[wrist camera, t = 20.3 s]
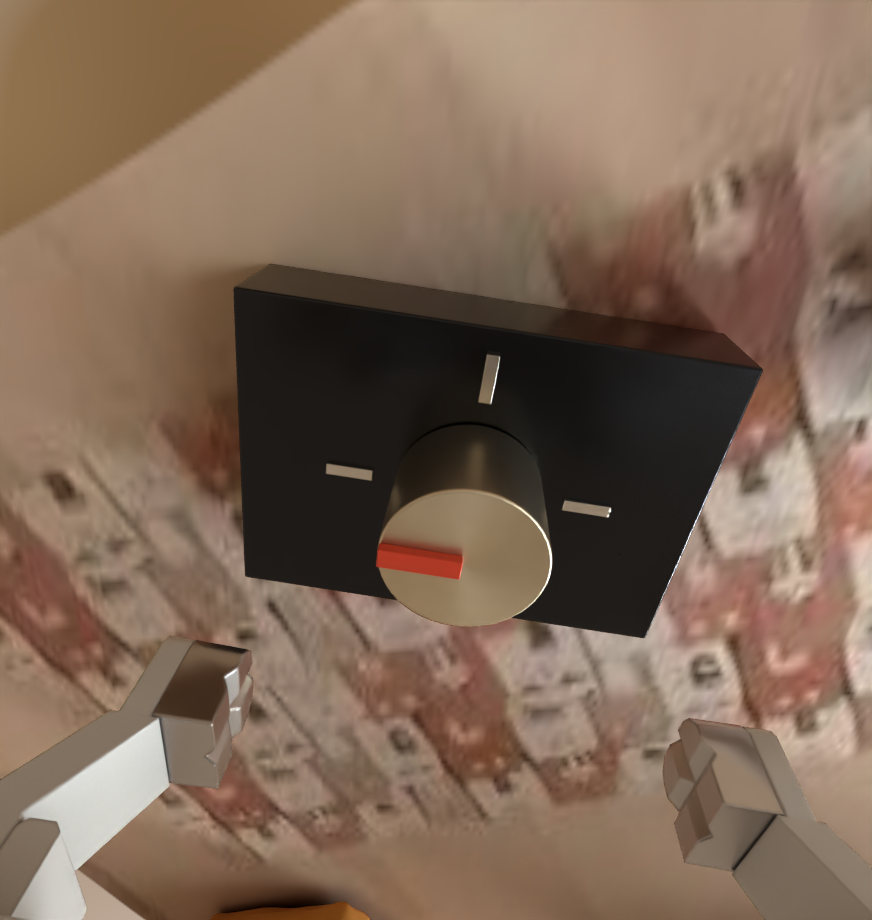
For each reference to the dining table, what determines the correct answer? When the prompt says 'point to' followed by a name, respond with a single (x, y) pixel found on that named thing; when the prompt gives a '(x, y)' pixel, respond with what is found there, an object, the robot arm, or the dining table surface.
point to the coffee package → (297, 913)
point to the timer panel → (477, 403)
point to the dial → (466, 528)
